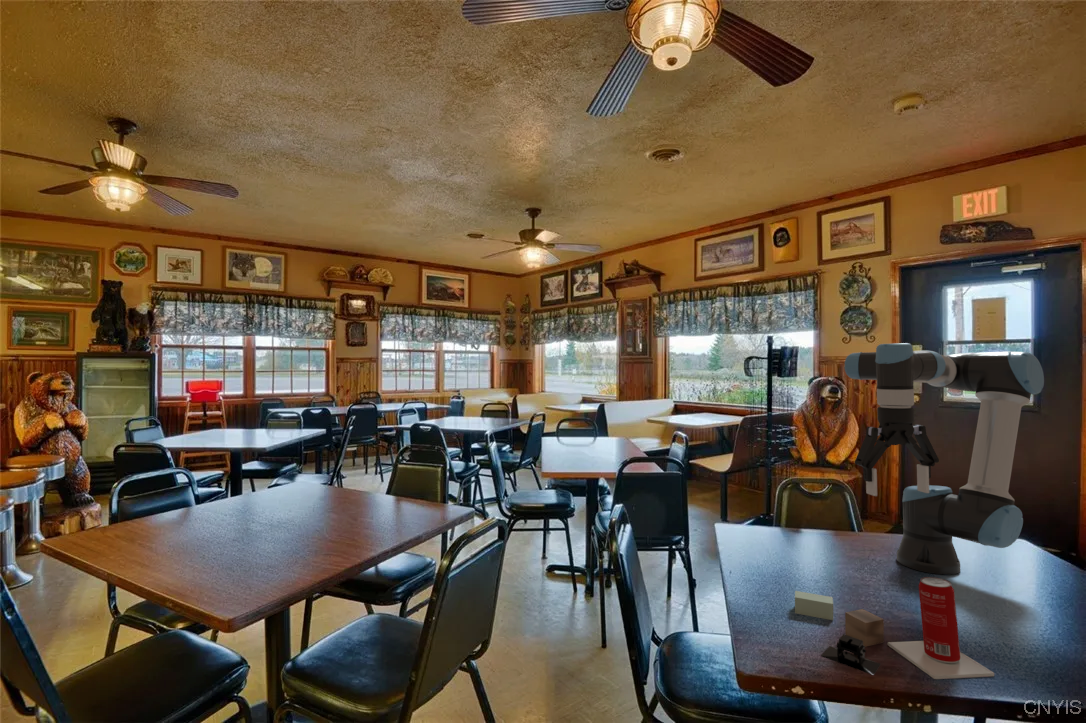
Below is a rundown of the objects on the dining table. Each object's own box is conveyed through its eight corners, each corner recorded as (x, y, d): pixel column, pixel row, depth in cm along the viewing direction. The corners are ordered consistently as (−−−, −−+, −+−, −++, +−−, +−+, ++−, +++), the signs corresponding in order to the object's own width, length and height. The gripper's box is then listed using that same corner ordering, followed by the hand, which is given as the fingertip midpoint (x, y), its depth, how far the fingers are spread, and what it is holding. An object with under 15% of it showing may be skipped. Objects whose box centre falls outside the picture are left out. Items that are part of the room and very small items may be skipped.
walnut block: (862, 631, 116) (862, 608, 116) (883, 642, 111) (883, 619, 111) (845, 635, 114) (845, 612, 114) (866, 646, 109) (865, 623, 109)
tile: (941, 642, 111) (941, 639, 111) (994, 676, 99) (994, 673, 99) (887, 645, 110) (887, 642, 110) (934, 679, 98) (934, 676, 98)
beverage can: (967, 666, 101) (966, 588, 101) (929, 663, 102) (928, 586, 102) (948, 650, 107) (947, 576, 107) (913, 647, 108) (912, 574, 108)
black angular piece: (811, 657, 106) (811, 634, 106) (823, 644, 111) (823, 622, 112) (882, 683, 97) (882, 659, 98) (892, 668, 103) (892, 644, 103)
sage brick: (795, 607, 128) (795, 590, 128) (832, 613, 124) (832, 597, 124) (794, 614, 124) (794, 597, 124) (833, 621, 121) (833, 604, 121)
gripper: (929, 403, 132) (931, 486, 132) (837, 406, 130) (839, 492, 130) (955, 405, 125) (958, 494, 125) (858, 409, 122) (860, 499, 122)
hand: (897, 493), depth 127 cm, fingers open, 13 cm apart
